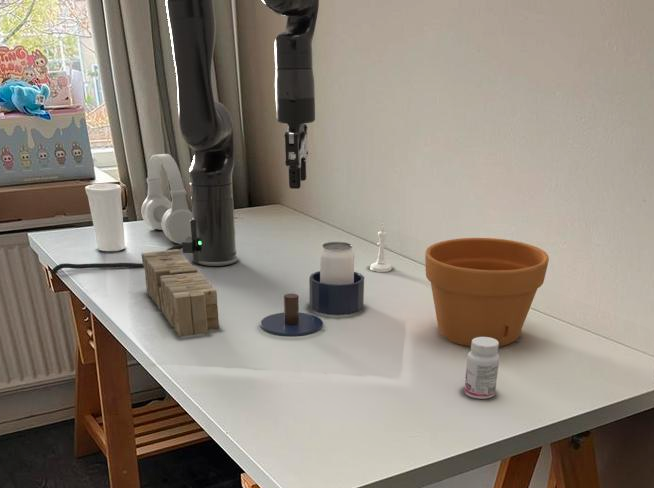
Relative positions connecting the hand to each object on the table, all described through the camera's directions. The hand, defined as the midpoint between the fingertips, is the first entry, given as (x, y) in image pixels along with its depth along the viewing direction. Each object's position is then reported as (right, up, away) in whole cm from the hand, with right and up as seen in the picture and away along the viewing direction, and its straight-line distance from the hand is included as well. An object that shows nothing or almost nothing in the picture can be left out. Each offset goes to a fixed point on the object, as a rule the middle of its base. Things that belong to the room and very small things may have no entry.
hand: (298, 184), depth 157 cm
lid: (0, -32, -15) cm, 35 cm away
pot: (+8, -26, -5) cm, 28 cm away
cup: (-47, -5, +29) cm, 55 cm away
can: (+8, -26, -5) cm, 28 cm away
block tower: (-22, -28, -8) cm, 36 cm away
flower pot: (+34, -33, -15) cm, 50 cm away
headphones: (-35, +3, +41) cm, 54 cm away
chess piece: (+18, -12, +19) cm, 29 cm away
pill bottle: (+30, -47, -37) cm, 67 cm away
